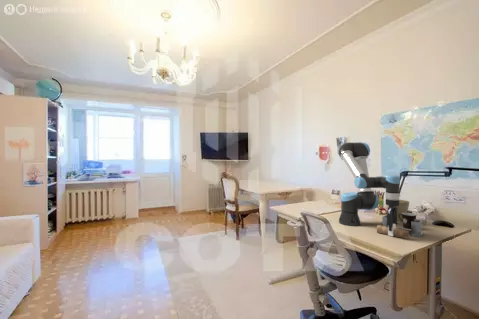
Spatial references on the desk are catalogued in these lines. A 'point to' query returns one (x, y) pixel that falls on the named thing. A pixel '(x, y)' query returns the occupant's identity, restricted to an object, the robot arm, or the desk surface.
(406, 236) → the wooden cylinder
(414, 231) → the bracket
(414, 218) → the coffee mug
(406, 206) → the plant pot
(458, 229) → the desk surface
